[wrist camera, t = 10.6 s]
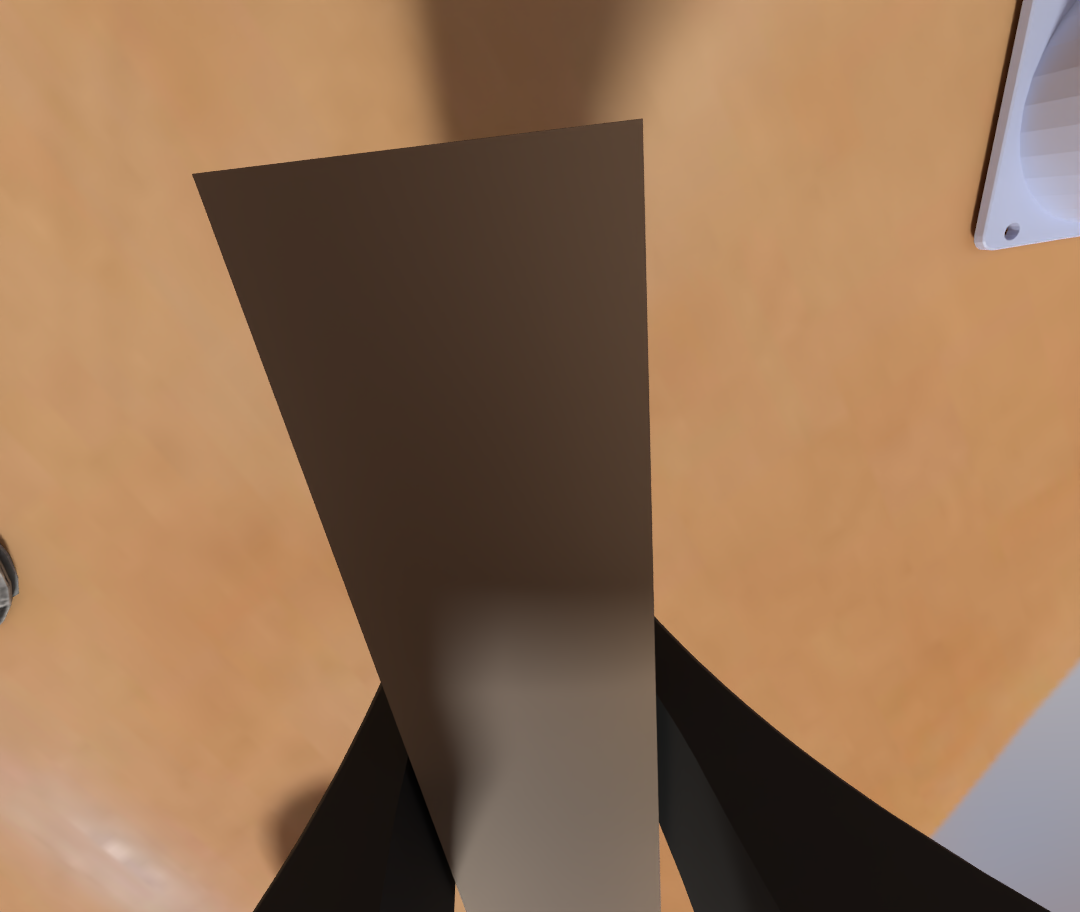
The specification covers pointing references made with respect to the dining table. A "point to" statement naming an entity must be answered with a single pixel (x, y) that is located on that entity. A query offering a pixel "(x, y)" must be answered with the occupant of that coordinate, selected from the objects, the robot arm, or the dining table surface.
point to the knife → (7, 583)
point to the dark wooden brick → (481, 477)
